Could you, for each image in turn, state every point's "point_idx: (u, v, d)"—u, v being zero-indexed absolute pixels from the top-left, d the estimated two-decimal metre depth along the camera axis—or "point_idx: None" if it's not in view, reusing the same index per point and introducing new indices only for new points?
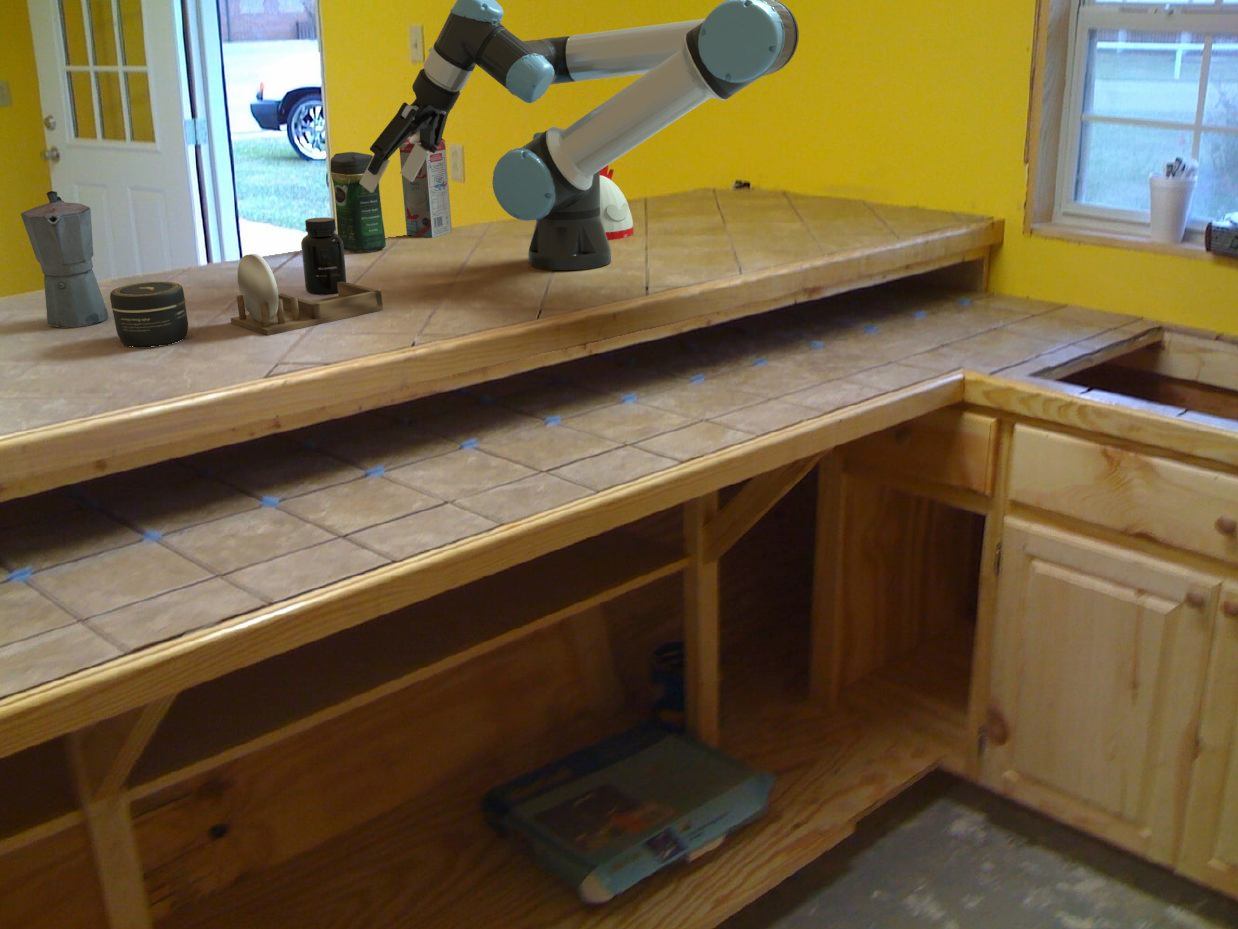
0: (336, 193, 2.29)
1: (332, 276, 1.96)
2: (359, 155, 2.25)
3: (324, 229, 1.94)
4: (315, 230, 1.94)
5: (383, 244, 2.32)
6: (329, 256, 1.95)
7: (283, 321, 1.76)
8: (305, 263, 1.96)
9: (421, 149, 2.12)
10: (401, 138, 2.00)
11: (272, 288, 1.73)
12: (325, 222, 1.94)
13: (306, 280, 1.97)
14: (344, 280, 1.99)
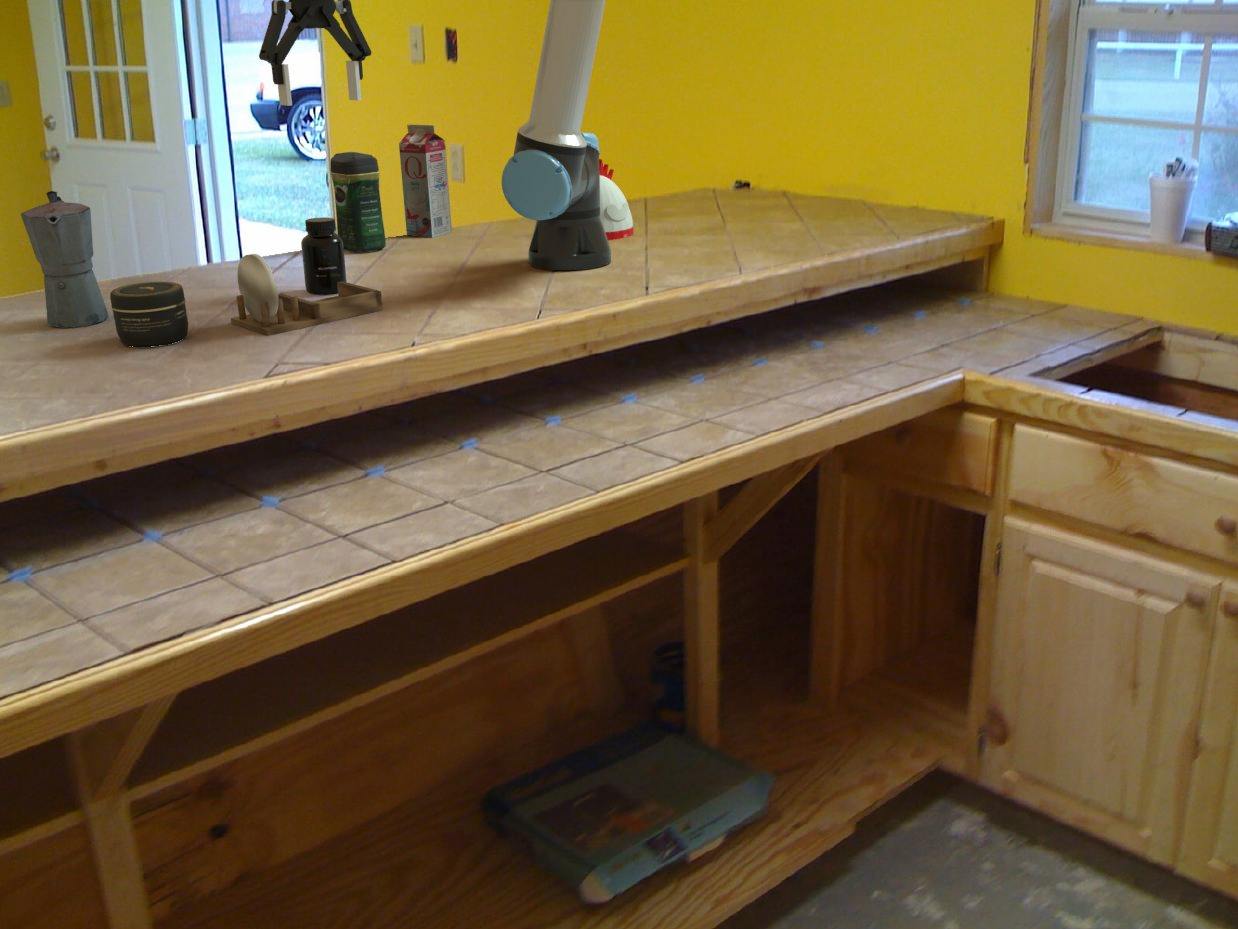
0: (336, 193, 2.29)
1: (332, 276, 1.96)
2: (359, 155, 2.25)
3: (324, 229, 1.94)
4: (315, 230, 1.94)
5: (383, 244, 2.32)
6: (329, 256, 1.95)
7: (283, 321, 1.76)
8: (305, 263, 1.96)
9: (350, 62, 2.06)
10: (288, 37, 1.96)
11: (272, 288, 1.73)
12: (325, 222, 1.94)
13: (306, 280, 1.97)
14: (344, 280, 1.99)
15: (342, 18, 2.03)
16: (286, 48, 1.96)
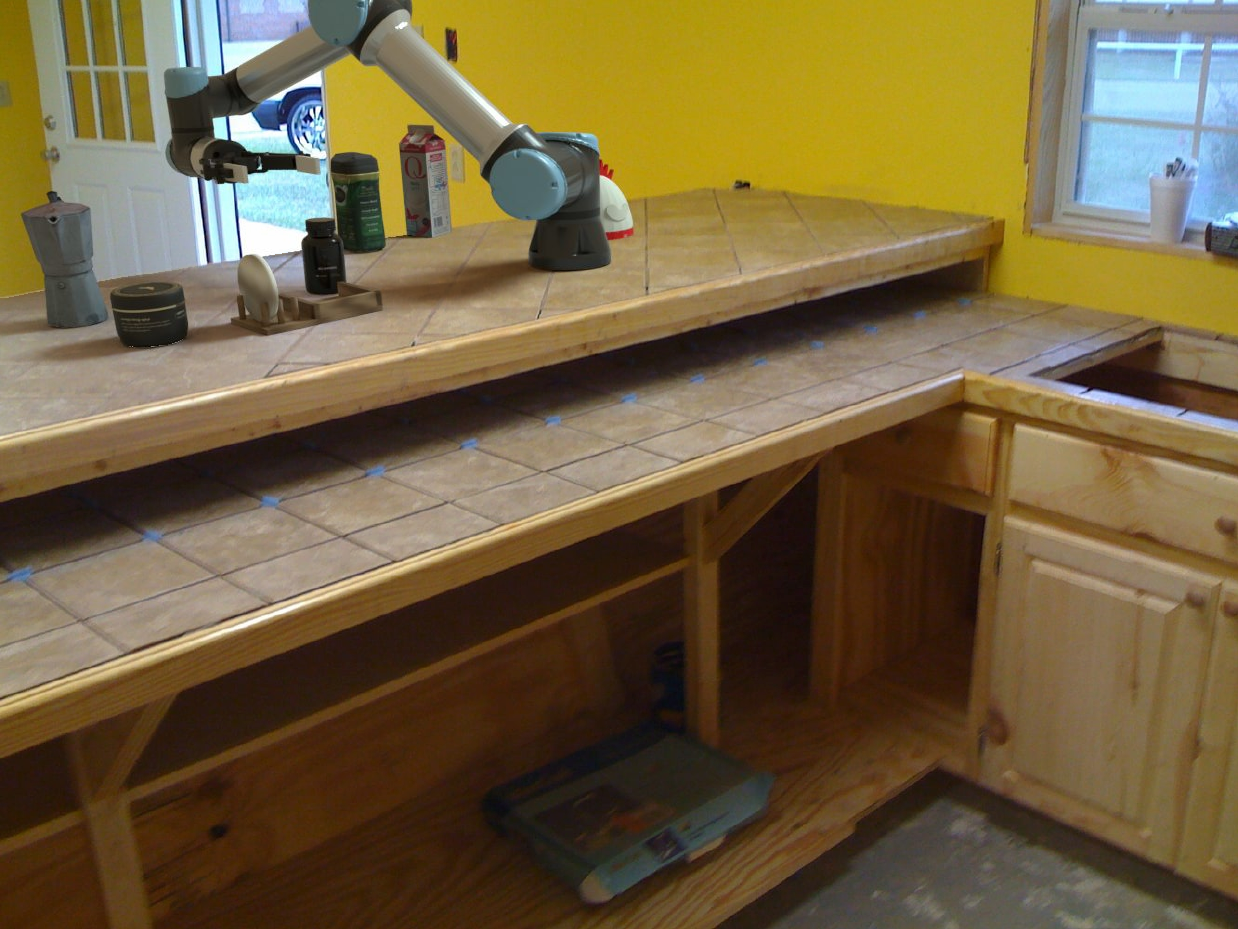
0: (336, 193, 2.29)
1: (332, 276, 1.96)
2: (359, 155, 2.25)
3: (324, 229, 1.94)
4: (315, 230, 1.94)
5: (383, 244, 2.32)
6: (329, 256, 1.95)
7: (283, 321, 1.76)
8: (305, 263, 1.96)
9: (296, 162, 2.08)
10: None
11: (272, 288, 1.73)
12: (325, 222, 1.94)
13: (306, 280, 1.97)
14: (344, 280, 1.99)
15: None
16: (221, 162, 2.01)
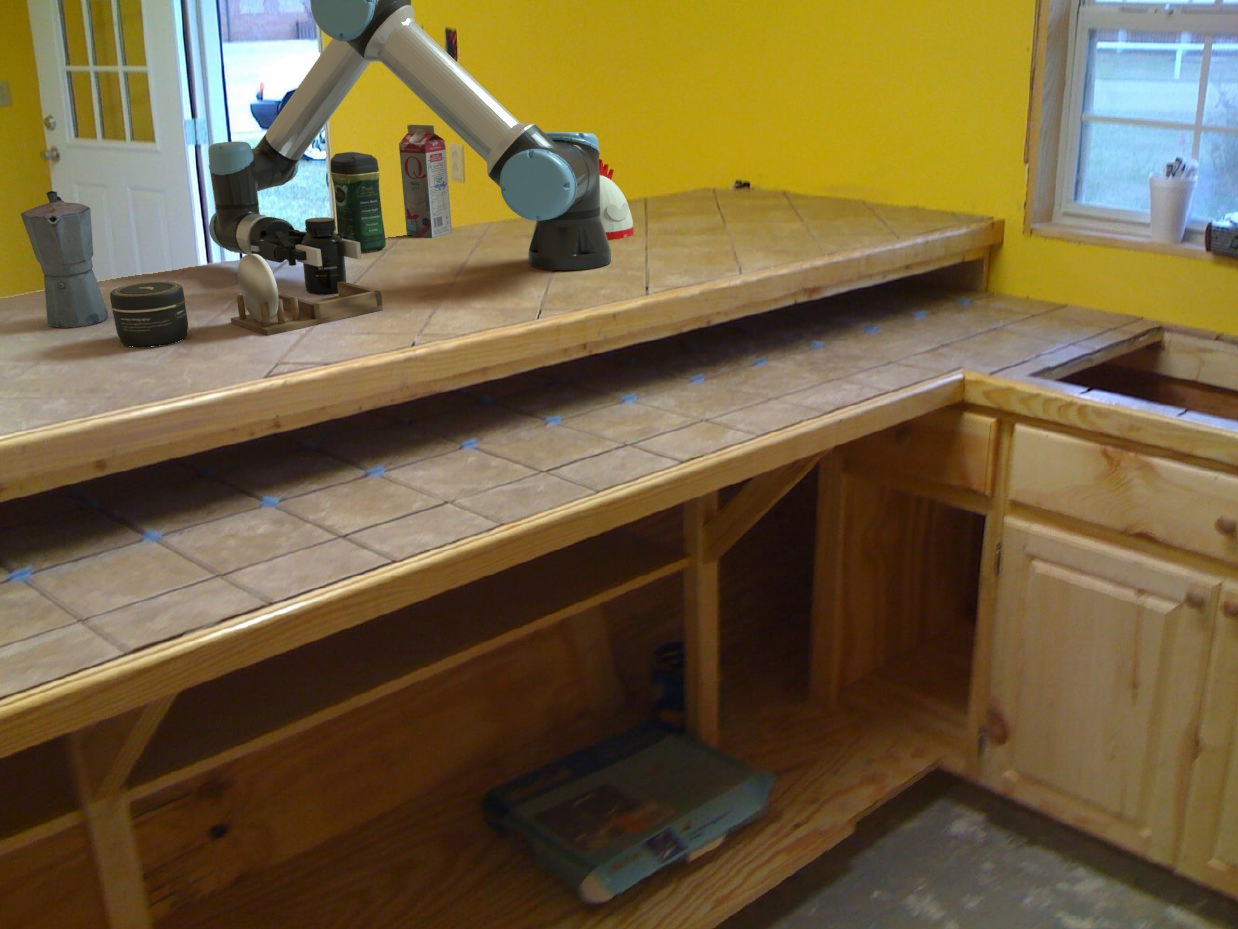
0: (336, 193, 2.29)
1: (332, 276, 1.96)
2: (359, 155, 2.25)
3: (324, 229, 1.94)
4: (315, 230, 1.94)
5: (383, 244, 2.32)
6: (329, 255, 1.95)
7: (283, 321, 1.76)
8: (305, 263, 1.96)
9: None
10: (282, 243, 1.99)
11: (272, 288, 1.73)
12: (325, 222, 1.94)
13: (306, 280, 1.97)
14: (344, 280, 1.98)
15: None
16: (287, 243, 1.97)
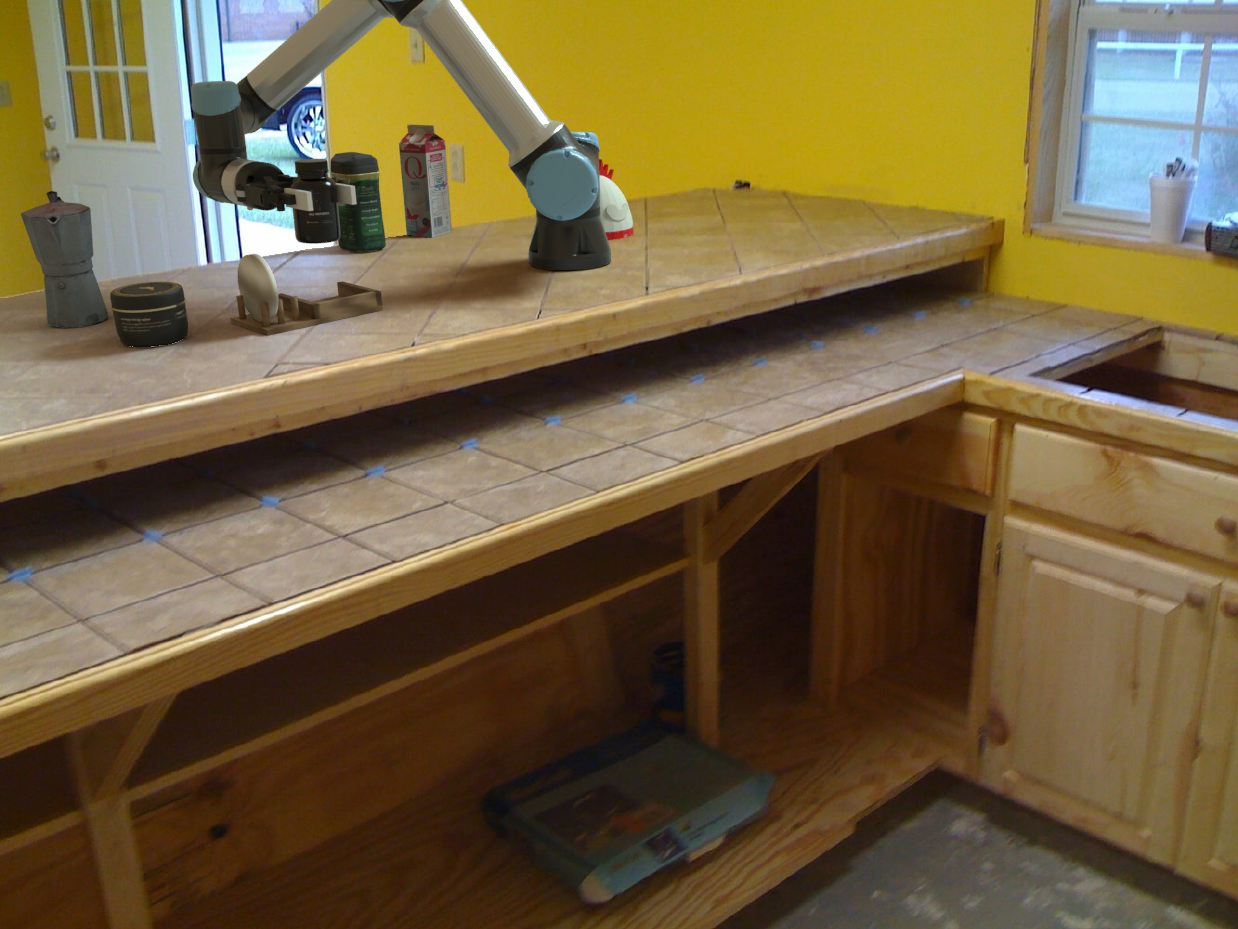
0: None
1: (324, 223, 1.79)
2: (359, 155, 2.25)
3: (315, 170, 1.77)
4: (305, 172, 1.77)
5: (383, 244, 2.32)
6: (321, 200, 1.78)
7: (283, 321, 1.76)
8: (294, 208, 1.79)
9: None
10: (270, 188, 1.82)
11: (272, 288, 1.73)
12: (316, 163, 1.77)
13: (296, 227, 1.80)
14: (337, 228, 1.81)
15: None
16: (275, 187, 1.80)
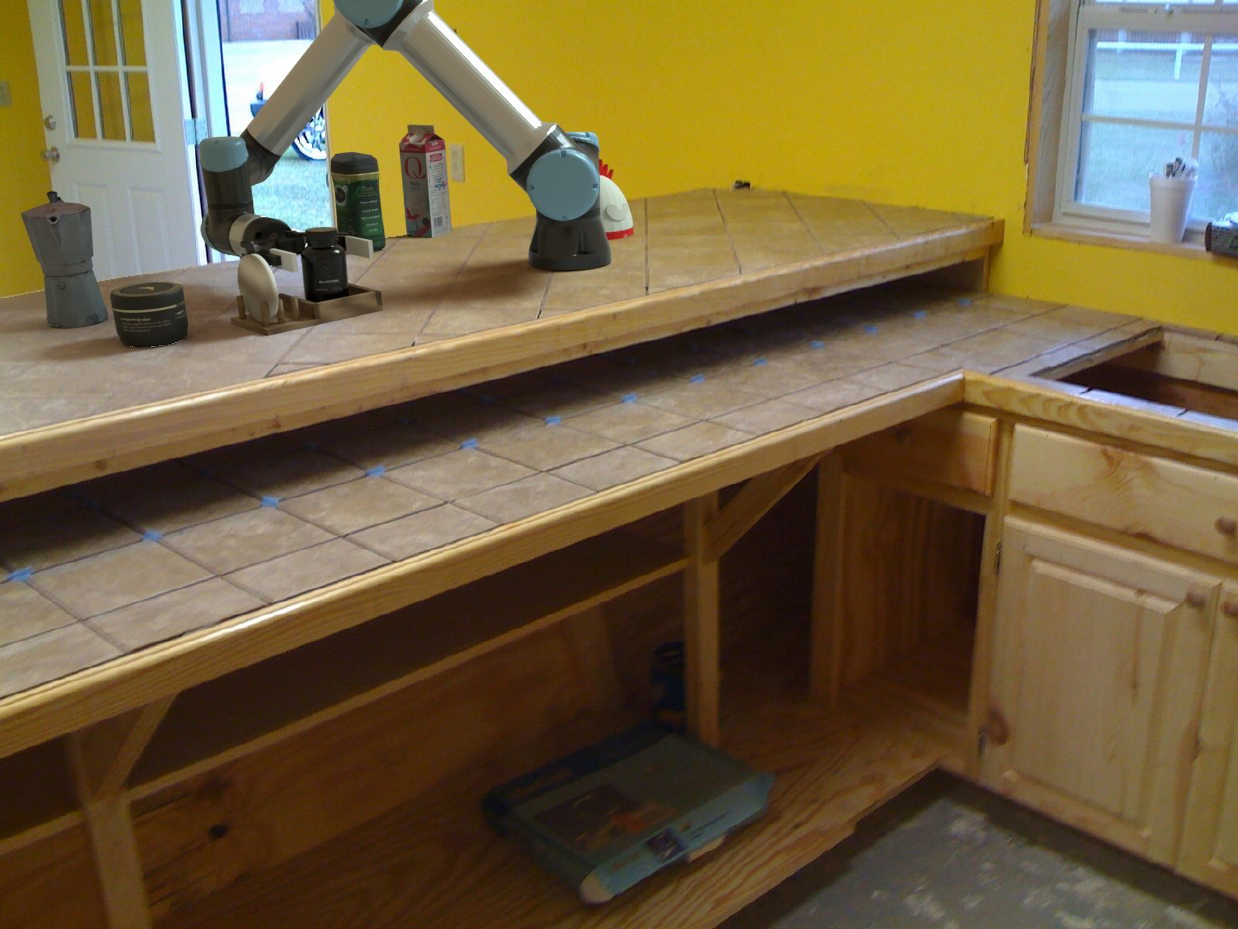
0: (336, 193, 2.29)
1: (333, 290, 1.83)
2: (359, 155, 2.25)
3: (325, 239, 1.81)
4: (316, 241, 1.80)
5: (383, 244, 2.32)
6: (331, 268, 1.81)
7: (283, 321, 1.76)
8: (305, 276, 1.82)
9: (346, 244, 1.89)
10: None
11: (272, 288, 1.73)
12: (326, 232, 1.80)
13: (306, 294, 1.84)
14: (347, 294, 1.85)
15: None
16: (266, 247, 1.83)
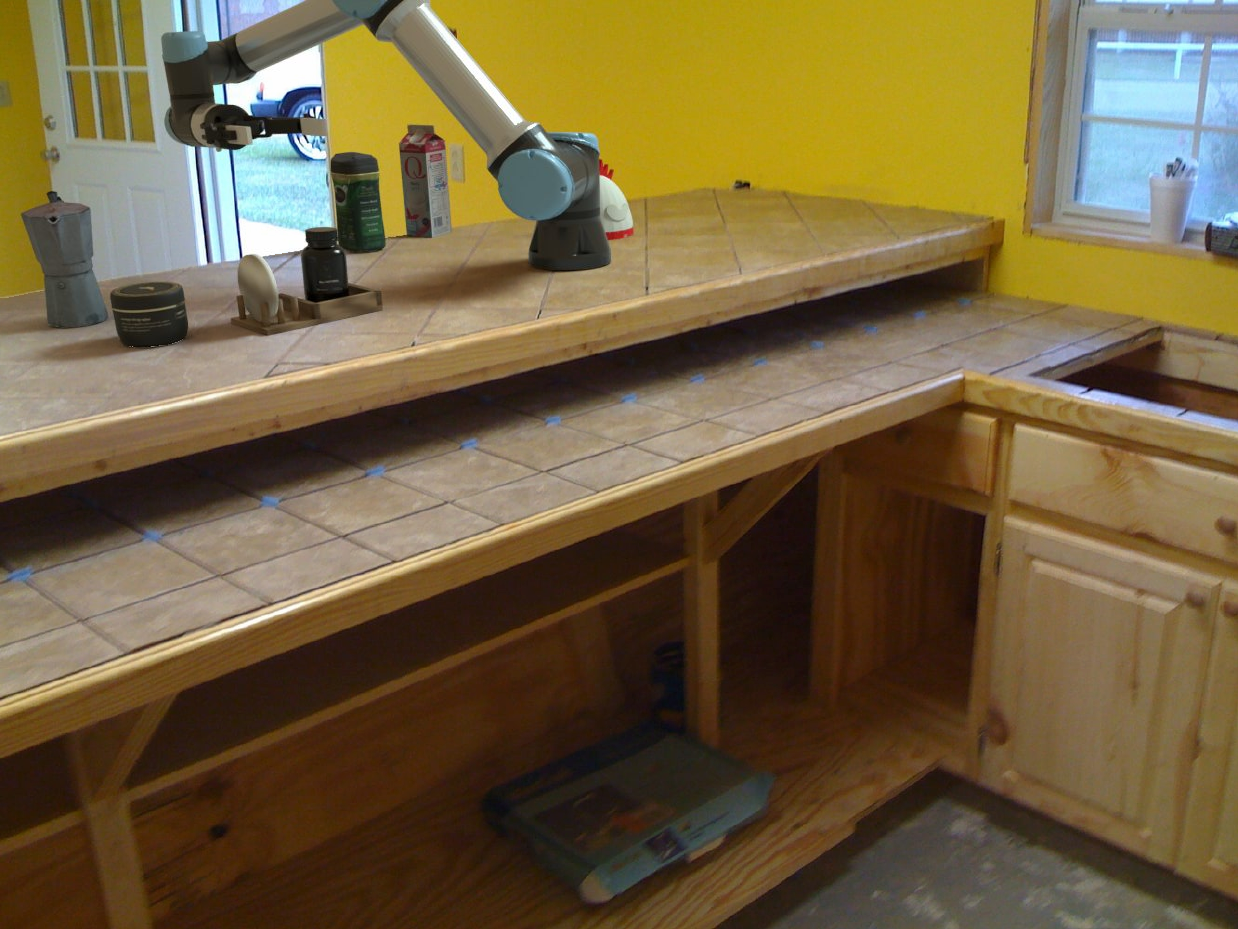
0: (336, 193, 2.29)
1: (333, 290, 1.83)
2: (359, 155, 2.25)
3: (325, 240, 1.81)
4: (316, 241, 1.80)
5: (383, 244, 2.32)
6: (331, 268, 1.81)
7: (283, 321, 1.76)
8: (305, 276, 1.82)
9: (301, 125, 2.00)
10: None
11: (272, 288, 1.73)
12: (326, 232, 1.80)
13: (306, 294, 1.84)
14: (347, 294, 1.85)
15: None
16: (223, 125, 1.93)
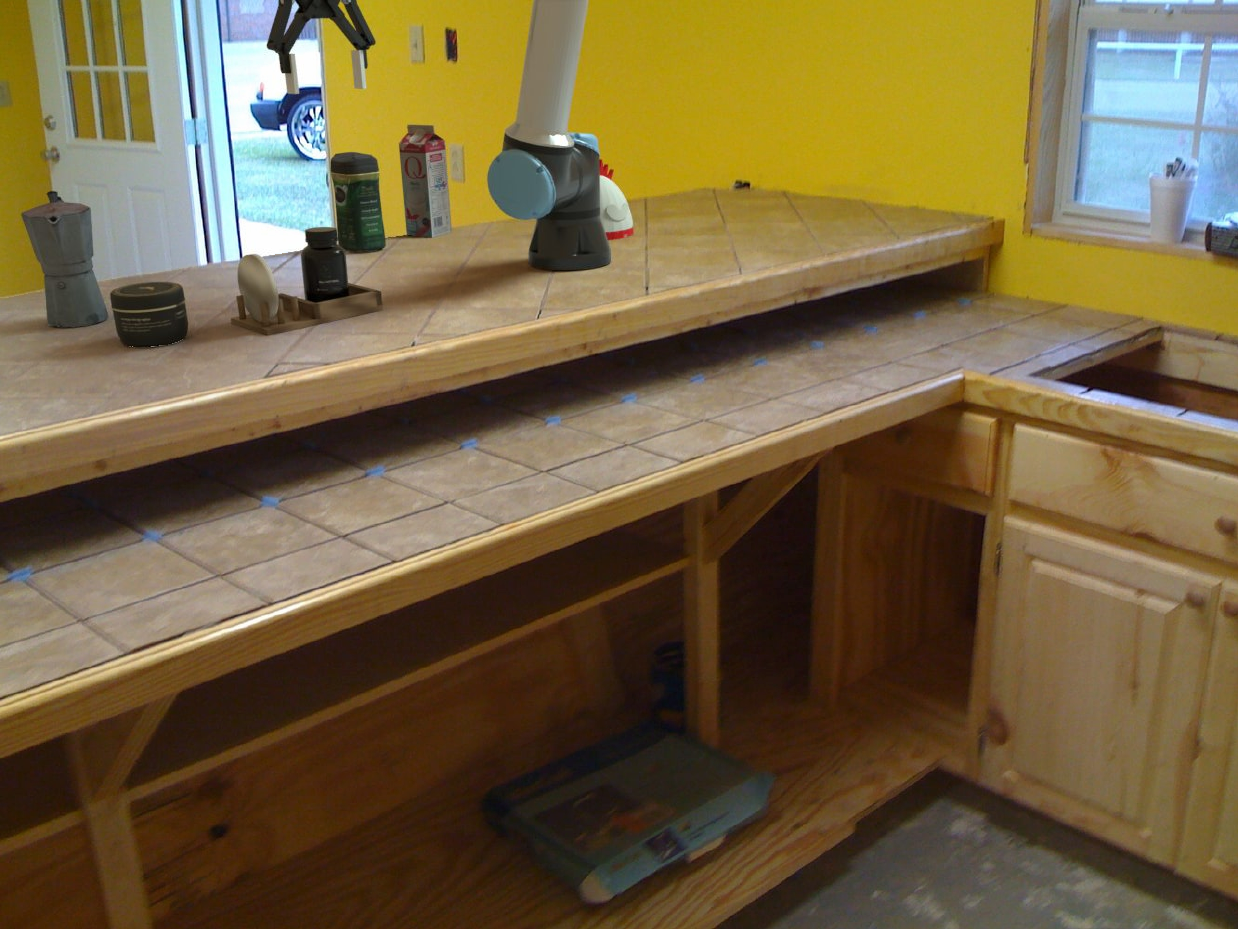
0: (336, 193, 2.29)
1: (333, 290, 1.83)
2: (359, 155, 2.25)
3: (325, 240, 1.81)
4: (316, 241, 1.80)
5: (383, 244, 2.32)
6: (331, 268, 1.81)
7: (283, 321, 1.76)
8: (305, 276, 1.82)
9: (355, 51, 2.11)
10: (295, 27, 2.01)
11: (272, 288, 1.73)
12: (326, 232, 1.80)
13: (306, 294, 1.84)
14: (347, 294, 1.85)
15: (347, 8, 2.09)
16: (293, 38, 2.01)
